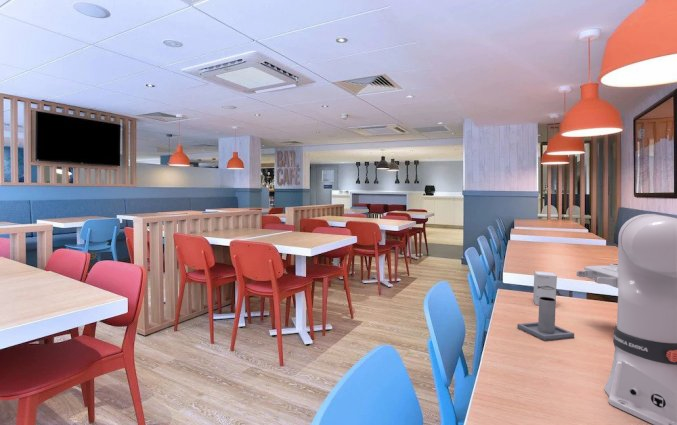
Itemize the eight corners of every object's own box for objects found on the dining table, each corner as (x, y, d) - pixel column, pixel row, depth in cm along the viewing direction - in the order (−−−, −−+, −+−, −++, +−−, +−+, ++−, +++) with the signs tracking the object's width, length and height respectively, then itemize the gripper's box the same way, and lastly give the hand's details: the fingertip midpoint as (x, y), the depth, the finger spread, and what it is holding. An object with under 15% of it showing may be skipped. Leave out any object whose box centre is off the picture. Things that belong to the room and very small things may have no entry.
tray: (574, 338, 112) (574, 333, 112) (544, 341, 109) (544, 336, 109) (545, 325, 122) (545, 321, 122) (517, 328, 120) (517, 323, 120)
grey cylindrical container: (556, 334, 113) (558, 301, 113) (540, 333, 114) (542, 300, 114) (551, 329, 118) (552, 297, 117) (536, 328, 118) (537, 296, 118)
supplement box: (534, 305, 147) (535, 273, 146) (532, 300, 153) (534, 270, 153) (556, 307, 144) (557, 275, 143) (553, 302, 150) (554, 272, 150)
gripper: (659, 297, 104) (608, 295, 105) (610, 281, 125) (568, 279, 126) (660, 275, 104) (609, 273, 105) (611, 263, 125) (569, 261, 125)
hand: (586, 276), depth 116 cm, fingers open, 8 cm apart
